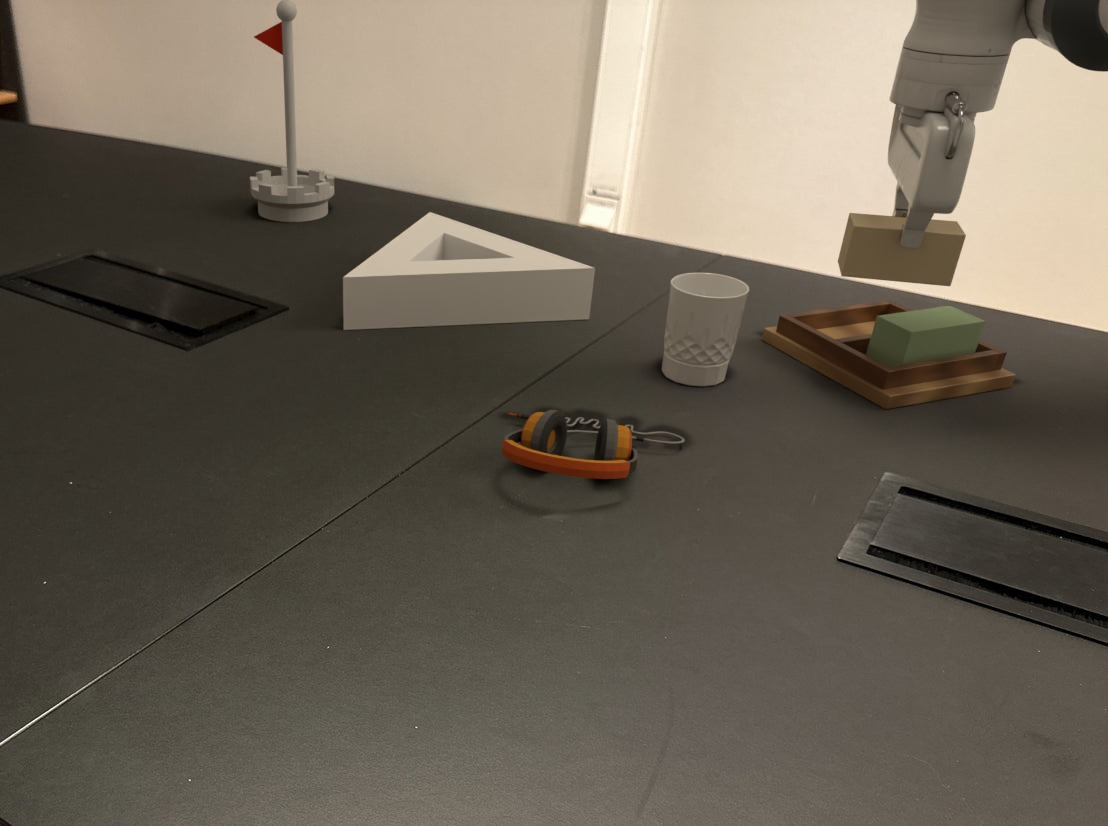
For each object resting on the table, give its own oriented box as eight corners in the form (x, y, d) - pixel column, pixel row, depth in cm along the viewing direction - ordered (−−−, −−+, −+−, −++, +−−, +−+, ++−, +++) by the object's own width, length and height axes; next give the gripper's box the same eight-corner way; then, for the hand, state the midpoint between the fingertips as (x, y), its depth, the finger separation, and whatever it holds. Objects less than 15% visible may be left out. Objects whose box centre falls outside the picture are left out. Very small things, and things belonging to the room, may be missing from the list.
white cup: (644, 377, 113) (658, 287, 107) (672, 354, 118) (687, 267, 113) (715, 395, 109) (734, 303, 104) (741, 371, 114) (759, 282, 109)
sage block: (935, 348, 117) (949, 305, 114) (971, 365, 113) (986, 320, 110) (864, 359, 114) (876, 315, 111) (898, 377, 110) (911, 332, 107)
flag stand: (344, 204, 170) (342, -4, 154) (321, 226, 159) (317, 5, 143) (267, 198, 172) (258, -7, 156) (239, 220, 161) (226, 1, 145)
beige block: (841, 276, 104) (853, 225, 101) (837, 261, 108) (849, 212, 105) (950, 286, 102) (966, 235, 99) (942, 271, 106) (957, 221, 103)
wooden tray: (876, 323, 128) (884, 295, 126) (1011, 387, 112) (1022, 356, 110) (761, 339, 122) (767, 311, 121) (885, 409, 107) (895, 377, 105)
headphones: (692, 408, 100) (668, 453, 82) (682, 461, 102) (656, 517, 84) (522, 380, 105) (464, 417, 87) (515, 432, 107) (457, 478, 89)
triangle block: (428, 257, 147) (429, 212, 143) (612, 282, 139) (619, 234, 136) (343, 330, 123) (342, 277, 120) (560, 364, 115) (566, 308, 112)
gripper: (1007, 106, 86) (957, 271, 94) (964, 70, 103) (923, 212, 110) (925, 102, 88) (881, 265, 95) (895, 66, 104) (860, 207, 112)
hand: (904, 236), depth 103 cm, fingers closed on beige block, 5 cm apart
